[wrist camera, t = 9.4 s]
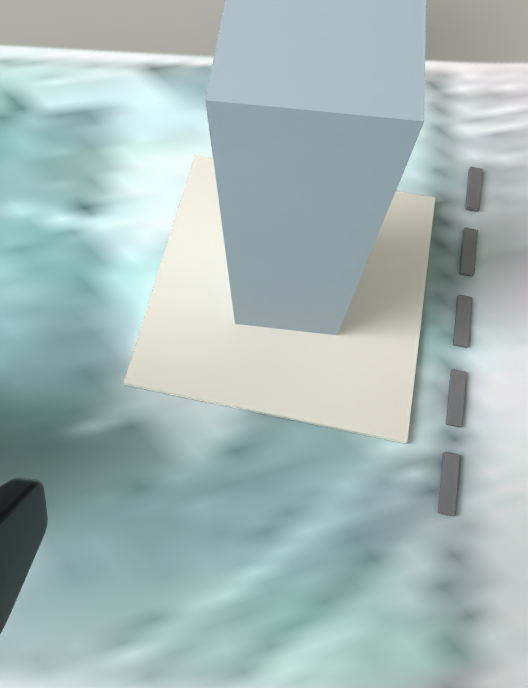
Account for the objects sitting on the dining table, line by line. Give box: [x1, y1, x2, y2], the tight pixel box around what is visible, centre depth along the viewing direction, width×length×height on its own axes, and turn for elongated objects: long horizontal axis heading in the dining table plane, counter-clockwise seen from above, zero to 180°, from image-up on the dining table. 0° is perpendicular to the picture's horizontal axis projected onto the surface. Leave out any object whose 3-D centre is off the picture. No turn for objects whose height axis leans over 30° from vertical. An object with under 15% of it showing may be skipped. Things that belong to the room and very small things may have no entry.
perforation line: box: [438, 167, 483, 516], centre depth 23 cm, size 17×1×1 cm, turn 168°
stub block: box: [206, 0, 426, 335], centre depth 17 cm, size 4×4×12 cm
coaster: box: [124, 155, 435, 444], centre depth 23 cm, size 12×12×1 cm
